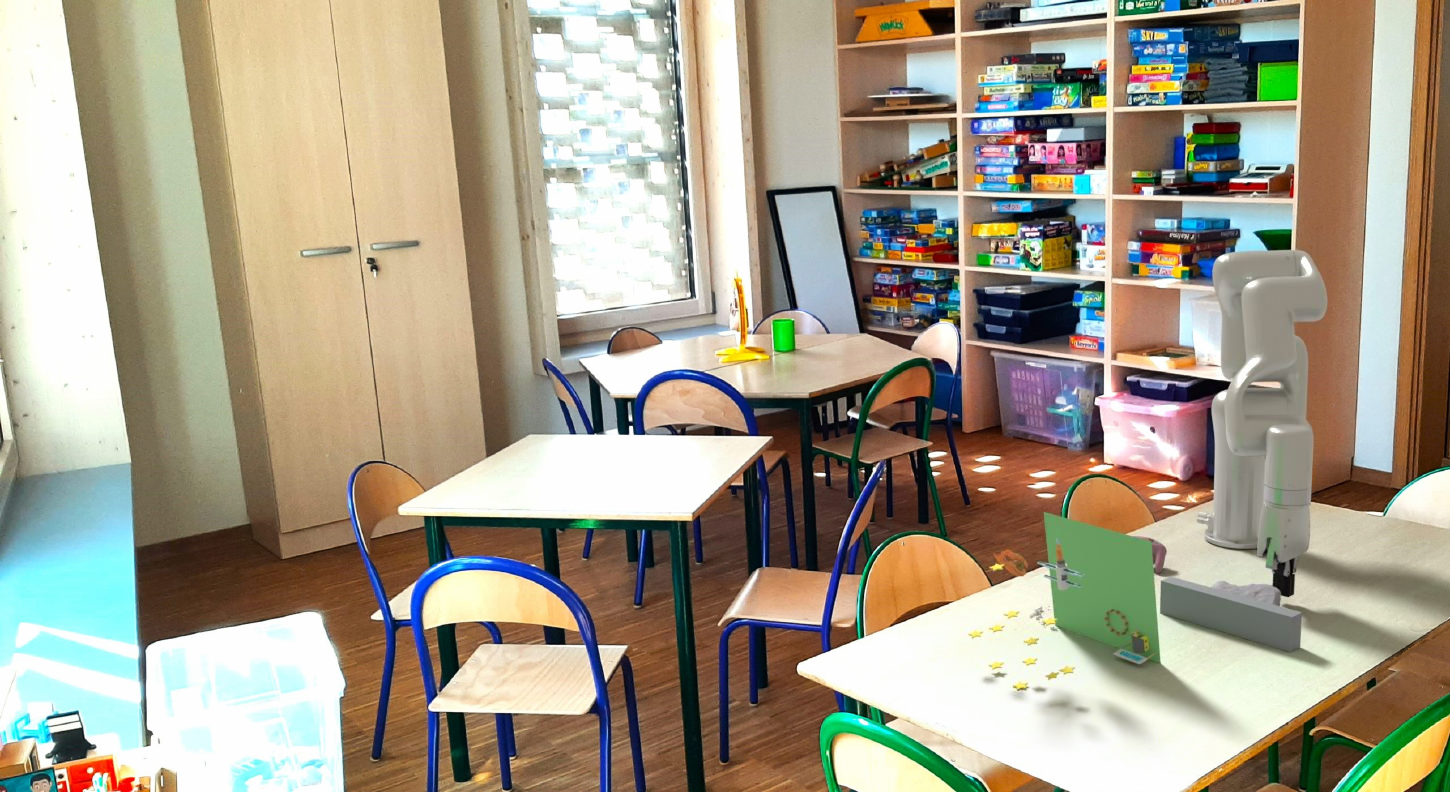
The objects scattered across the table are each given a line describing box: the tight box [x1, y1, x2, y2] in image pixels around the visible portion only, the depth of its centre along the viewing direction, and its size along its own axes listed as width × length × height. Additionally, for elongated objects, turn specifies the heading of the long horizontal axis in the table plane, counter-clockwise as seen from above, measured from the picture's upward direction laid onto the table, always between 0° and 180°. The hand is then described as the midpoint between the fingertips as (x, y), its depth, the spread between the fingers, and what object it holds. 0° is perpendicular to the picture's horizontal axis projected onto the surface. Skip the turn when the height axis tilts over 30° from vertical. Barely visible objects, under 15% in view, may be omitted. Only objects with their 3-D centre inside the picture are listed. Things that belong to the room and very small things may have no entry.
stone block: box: [1210, 580, 1282, 607], centre depth 222 cm, size 12×5×10 cm
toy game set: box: [968, 511, 1161, 691], centre depth 201 cm, size 22×25×24 cm
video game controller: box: [1133, 535, 1168, 574], centre depth 246 cm, size 10×5×7 cm, turn 57°
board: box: [1159, 576, 1303, 653], centre depth 213 cm, size 24×3×6 cm, turn 38°
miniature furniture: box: [1029, 605, 1058, 632], centre depth 228 cm, size 7×25×2 cm, turn 138°
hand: (1283, 594), depth 224 cm, fingers closed
